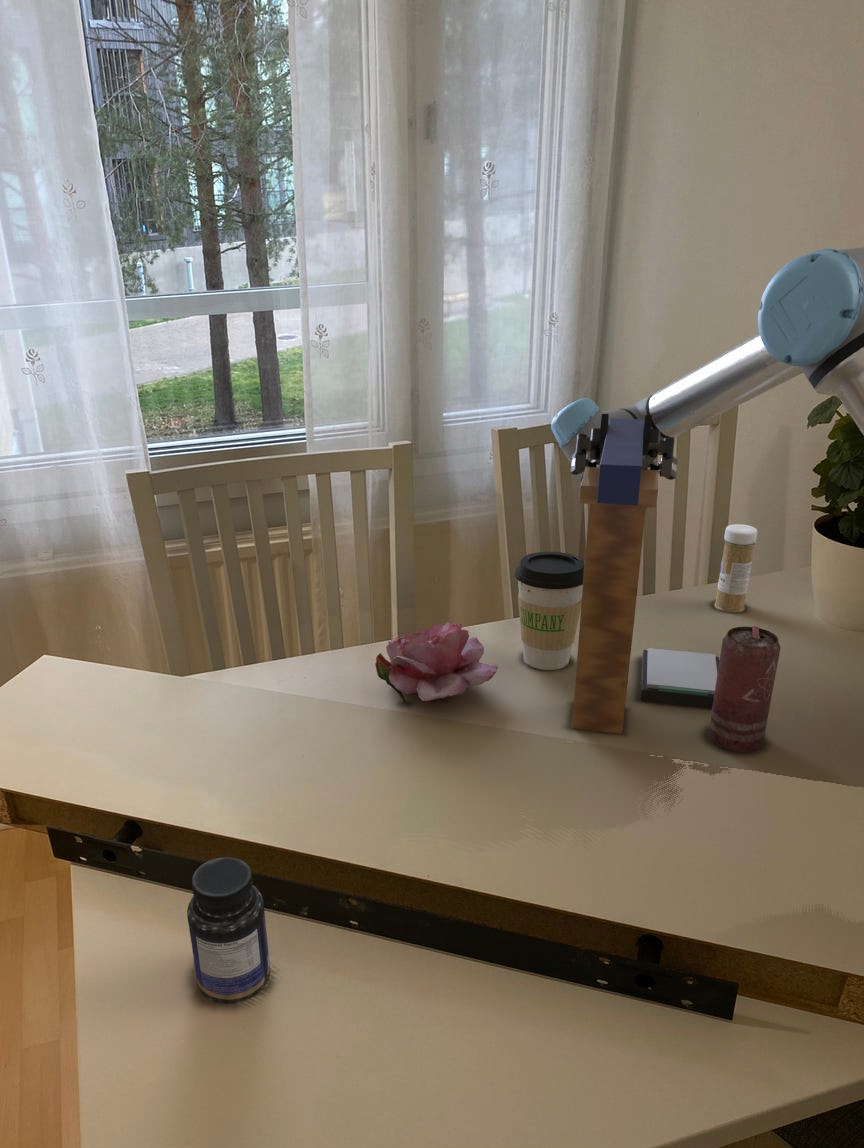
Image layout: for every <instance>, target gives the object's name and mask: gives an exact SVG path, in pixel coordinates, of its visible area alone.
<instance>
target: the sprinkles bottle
mask: <svg viewBox="0 0 864 1148" xmlns="http://www.w3.org/2000/svg"><path fill="white" fill-rule="evenodd" d="M723 537H724V538H723V539H724V547H723V552H722V559H721V562H720V571H719V577H718V583H717V592H716V598H715V602H714V607H715V609H717V610H719V611H721V612H724V613H741V612H743V611H745V602H746V596H747V593H748V587H749V581H750V576H751V571H752V570H751V569H752V563H753V554H754V548H755V544H756V542H757V538H758V529H757V528H756V527H754V526H751V525H748V524H739V523H738V524H729V525H727V526H726V527H725V530H724V536H723Z"/></svg>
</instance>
